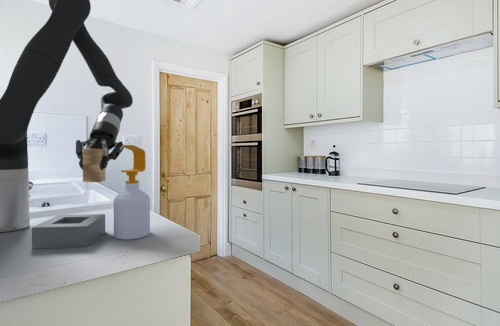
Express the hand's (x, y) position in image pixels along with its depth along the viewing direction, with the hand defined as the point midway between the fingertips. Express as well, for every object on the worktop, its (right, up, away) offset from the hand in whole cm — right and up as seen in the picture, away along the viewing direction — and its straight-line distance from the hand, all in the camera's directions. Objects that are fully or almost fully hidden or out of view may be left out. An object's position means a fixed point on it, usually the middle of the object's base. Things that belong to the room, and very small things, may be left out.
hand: (92, 167), depth 81 cm
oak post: (0, -4, +2) cm, 5 cm away
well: (0, -18, -9) cm, 21 cm away
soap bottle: (+14, -19, -5) cm, 24 cm away
